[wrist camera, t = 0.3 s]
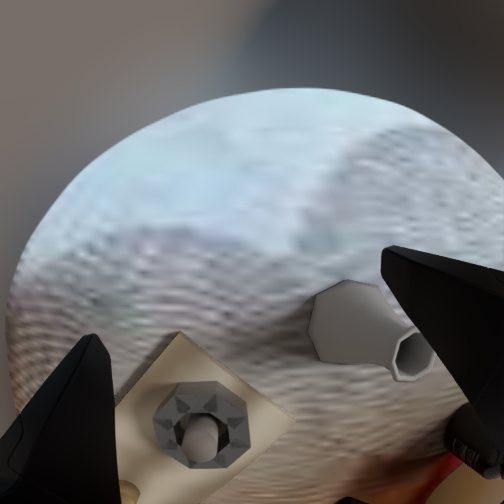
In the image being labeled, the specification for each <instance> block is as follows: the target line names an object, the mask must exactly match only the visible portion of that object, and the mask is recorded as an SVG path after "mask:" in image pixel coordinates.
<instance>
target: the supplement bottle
mask: <svg viewBox="0 0 504 504" xmlns="http://www.w3.org/2000/svg"><path fill="white" fill-rule="evenodd" d="M444 446H445V448H446V449H447V450H448V451H449V452H451V453H452V454H453V455H454V456H456V457H457V458H458V459H460V460H461V461H462V462H464V463H465V464H466V465H467V466H469V467H470V468H472V469H473V470H474V471H476V472H477V473H478V474H479V475H481V476H482V477H484V478H485V479H495V478H498V477H500V476H501V478H502V479H503V480H504V453H502V454H501V452H500V451H499V450H498V448H497V446H496V444H495V443H494V441H493V439H492V438H491V436H490V434H489V432H488V431H487V429H486V428H485V426H484V424H483V423H482V421H481V419H480V418H479V416H478V415H477V413H476V412H475V410H474V408H473V406H472V405H471V404H470V403H468V404H466V405H464V406H463V407H462V408H461V409H460V410H459V411H458V412H457V413H456V414H455V415H454V416H453V418H452V419H451V421H450V422H449V424H448V426H447V428H446V431H445V434H444Z"/></svg>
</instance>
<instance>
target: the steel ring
mask: <svg viewBox="0 0 504 504" xmlns="http://www.w3.org/2000/svg"><path fill="white" fill-rule="evenodd" d="M208 412H209V413H211V414H212V415H214V416H215V417H217V418H218V419H219V420H221V421H222V422H224V423H225V424H227V425H228V429H227V430H226V431H225V432H224V433H223V434H222V435H221V436H220V437H218V444H217V454H216V456H215V457H214V458H213V459H212V460H210V461H207V462H196V461H193V460H190V459H189V458H187V457H186V456H185V455H184V453H183V452H182V442H183V439H184V435H185V430H184V429H182V428H181V423H180V419H181V418H182V417H183V416H184V415H185V414H186V413H208ZM152 421H153V426H154V430H155V434H156V438H157V442H158V445H159V449H160V450H161V451H163V452H164V453H166V454H167V455H169V456H170V457H172V458H173V459H175V460H177V461H178V462H180V463H181V464H183V465H184V466H186V467H188V468H189V469H220V468H228V467H229V466H230V465H231V464H232V463H234V462H235V461H236V460H237V459H238V458H240V457H241V456H242V455H243V454H244V453H245V452H246V451H248V450H249V449H250V448H251V441H250V431H249V422H248V412H247V403H246V401H244V400H243V399H242V398H240V397H239V396H237V395H236V394H235V393H233V392H232V391H230V390H229V389H228V388H226V387H225V386H224V385H222V384H221V383H220V382H218V381H200V382H180V383H179V384H178V385H177V386H176V387H175V388H174V389H173V390H172V391H171V392H170V394H169V395H168V396H167V397H166V398H165V399H164V400H163V401H162V402H161V403H160V404H159V406H158V408H157V410H156V412H155V414H154V416H153V418H152Z"/></svg>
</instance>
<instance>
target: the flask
mask: <svg viewBox="0 0 504 504" xmlns="http://www.w3.org/2000/svg"><path fill="white" fill-rule="evenodd" d="M308 333H309V335H310V337H311V340H312V342H313V344H314V346H315V349H316V351H317V353H318V356H319V358H320V360H321V361H325V362H333V363H341V364H350V365H359V364H377V365H380V366H383V367H385V368H387V369H388V370H390V371H391V374H392V377H393V379H394V381H396V382H415V381H417V380H418V379H419V378H421V377H422V376H424V375H425V374H426V373H428V372H429V371H431V370H432V366H433V363H434V360H435V356H436V353H435V351H434V350H433V349H432V347H431V346H430V345H429V343H428V342H427V341H426V339H425V338H424V337H423V335H422V334H421V333H420V331H419V330H418V329H417V327H416V326H409V325H408V324H406V323H405V322H404V321H402V320H401V319H400V318H399V317H398V316H397V314H396V313H395V311H394V310H393V308H392V307H391V306H390V304H389V303H388V301H387V300H386V298H385V296H384V295H383V293H382V291H381V290H380V288H379V287H378V286H376V285H371V284H366V283H362V282H357V281H352V280H348V279H347V280H345V281H343V282H341V283H339V284H338V285H336V286H334V287H332V288H330V289H328V290H326V291H324V292H322V293H320V294H318V295H316V298H315V302H314V307H313V311H312V315H311V320H310V324H309V328H308Z"/></svg>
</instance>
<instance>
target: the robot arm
mask: <svg viewBox="0 0 504 504" xmlns="http://www.w3.org/2000/svg"><path fill="white" fill-rule="evenodd" d="M381 275H382V278H383V279H384V281H385V282H386V284H387V285H388V287H389V289H390V290H391V292H392V293H393V295H394V296H395V298H396V299H397V301H398V303H399V304H400V306H401V307H402V309H403V310H404V312H405V313H406V314H407V316H408V317H409V318H410V320H411V321H412V322H413V324H414V325H415V326H416V327H417V329H418V330H419V331H420V333H421V334H422V335H423V337H424V338H425V339H426V341H427V342H428V343H429V345H430V346H431V347H432V349H433V350H434V351H435V353H436V354H437V356H438V357H439V358H440V360H441V361H442V363H443V364H444V365H445V367H446V368H447V370H448V371H449V372H450V374H451V375H452V377H453V378H454V380H455V381H456V383H457V384H458V385H459V387H460V388H461V390H462V391H463V393H464V394H465V396H466V397H467V399H468V400H469V402H470V404H471V405H472V406H473V408H474V410H475V412H476V413H477V415H478V416H479V418H480V419H481V421H482V423H483V424H484V426H485V428H486V429H487V431H488V432H489V434H490V436H491V438H492V439H493V441H494V443H495V444H496V446H497V448H498V450H499V451H500V452H501V454H502V453H504V271H500V270H496V269H492V268H487V267H484V266H480V265H476V264H472V263H468V262H464V261H460V260H456V259H452V258H448V257H443V256H439V255H435V254H431V253H426V252H422V251H418V250H413V249H409V248H404V247H400V246H395V245H392V246H389V247H386V248H384V249H383V250H382V254H381ZM0 504H122V501H121V494H120V485H119V475H118V464H117V450H116V430H115V400H114V390H113V380H112V369H111V358H110V355H109V353H108V351H107V349H106V348H105V346H104V345H103V343H102V341H101V340H100V338H99V337H98V335H97V334H94V333H93V334H88V335H84V336H83V337H82V338H81V339H80V340H79V341H78V342H77V344H76V345H75V346H74V347H73V348H72V349H71V351H70V352H69V353H68V354H67V355H66V356H65V358H64V359H63V360H62V361H61V362H60V364H59V365H58V366H57V367H56V368H55V370H54V371H53V372H52V373H51V375H50V376H49V377H48V378H47V379H46V381H45V382H44V383H43V384H42V386H41V387H40V388H39V389H38V391H37V392H36V393H35V395H34V396H33V397H32V398H31V400H30V401H29V402H28V404H27V405H26V406H25V407H24V409H23V410H22V411H21V414H19V415H18V417H17V418H16V419H15V421H14V422H13V423H12V425H11V426H10V427H9V429H8V430H7V431H6V433H5V434H4V435H3V436H2V437H1V439H0ZM339 504H368V503H365V502H362V501H360V500H357V499H355V498H352V497H348V498H346V499H344V500H343V501H342V502H340V503H339ZM500 504H504V501H503V502H502V503H500Z"/></svg>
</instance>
